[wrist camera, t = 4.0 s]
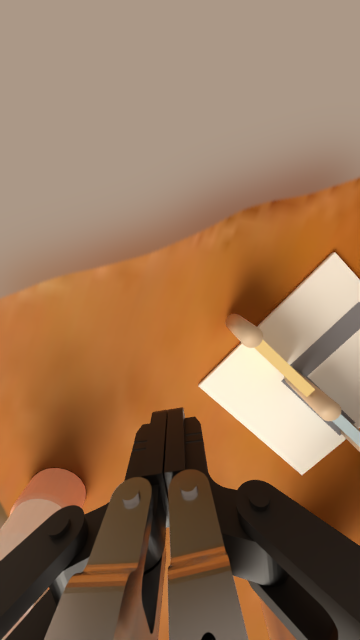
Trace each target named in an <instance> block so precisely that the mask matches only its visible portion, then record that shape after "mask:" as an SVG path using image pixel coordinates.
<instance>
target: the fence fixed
mask: <svg viewBox="0 0 360 640" xmlns="http://www.w3.org/2000/svg"><path fill="white" fill-rule="evenodd" d="M295 371H296V372H297V373H298V374H299V375H301V376H302V377H303V378H304V379H305V380H306V381H307V382H308V383H309V384H310V385H311V386H312V387H313V388H314V389H315V390H314V391H313V392H312V393H311V394H310V395H309V396H308V397H306V396H305V395H304V394H303V393H302V392H301V391H300V390H299V389H297V388H296V387H295V386H294V385H293V384H292V383H291V382H290V381H289V380H288V379H287V378H286V377H285V376H284V379H285V381H286V383H287V384H288V385H289V386H290V387H291V388H292V389H293V390H294V391H295V392H296V393H297V394H298V395H299V396H300V397H301V398H302V399H303V400H304V401H305V402H306V403H307V404H308V405H309V406H310V407H311V408H312V409H313V410H314V411H315V412H316V413H317V414H318V415H319V416H320V417H321V418H322V419H323V420H325V421H333V422H334V423H335V424H336V425H337V426H338V427H339V428H340V433H341V434H342V435H343V436H344V437H345V438H346V439H347V440H348V441H349V442H350V443H351V444H352V445H353V446H354V447H355V448H356V449H357V450H358V451H359V452H360V430H359V429H358V428H357V427H356V426H355V425H354V424H352V423H350V422H349V421H348V420H347V419H345V418H344V417H343V416H342V415H341V407H340V405H339V404H338V403H336V402H335V401H334V400H333V399H331V398H330V397H329V396H328V395H327V394H325V393H324V392H323V391H322V390H320V389H319V388H318V387H317V386H315V385H314V384H313V383H312V382H311V381H309V380H308V379H307V378H306V377H304V376H303V375H302V374H301V373H299V372H298V371H297V370H295Z"/></svg>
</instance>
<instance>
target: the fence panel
mask: <svg viewBox="0 0 360 640" xmlns="http://www.w3.org/2000/svg"><path fill="white" fill-rule="evenodd" d="M226 326H227V327H228V328H229V330H230V331H231V332H232V333H233V334H234V335H235V336H236V337H237V338H238V339H239V340H240V341H241V343H242V344H243V345H244V346H246V347H248V348H255V349H256V350H257V351H258V352H259V353H260V354H261V355H262V356H263V357H264V358H266V359H267V360H268V361H269V362H270V363H271V364H272V365H273V366H274V367H275V368H276V369H277V370H278V371H279V372H280V373H281V374H283V375H284V376H285V377H286V378H287V379H288V380H289V381H290V382H291V383H292V384H293V385H294V386H295V387H296V388H297V389H299V390H300V391H301V392H302V393H303V394H304V395H305V396H306V397H308V396H309V395H310V394H311V393H312V392H313V391H314V390H315V389H314V388H313V387H312V386H311V385H310V384H309V383H308V382H307V381H306V380H305V379H304V378H303V377H302V376H301V375H299V374H298V373H297V372H296V371H295V370H294V369H293V368H292V367H291V366H290V365H289V364H288V363H287V362H286V361H285V360H284V359H283V358H282V357H281V356H280V355H279V354H277V353H276V352H275V351H274V350H273V349H272V348H271V347H270V346H269V345H268V344H267V343H266V342H265V341H264V340H263V333H262V331H261V330H260V329H259V328H258V327H256V326H255V325H253V324H252V323H250V322H249V321H248V320H246V319H245V318H243V317H242V316H240V315H239V314H231V315H229V316H228V317H227V319H226Z"/></svg>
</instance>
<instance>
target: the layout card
mask: <svg viewBox="0 0 360 640" xmlns="http://www.w3.org/2000/svg"><path fill="white" fill-rule="evenodd" d="M257 327H258V328H259V329H260V330H261V331H262V333H263V340H264V341H265V342H266V343H267V344H268V345H269V346H270V347H271V348H272V349H273V350H274V351H275V352H276V353H277V354H279V355H280V356H281V357H282V358H283V359H284V360H285V361H286V362H287V363H288V364H289V365H290V366H291V367H292V368H293V369H294V370H297V371H298V372H299V373H301V374H302V375H303V376H304V377H306V378H307V379H308V380H309V381H311V382H312V383H313V384H314V385H315V386H317V387H318V388H319V389H320V390H322V391H323V392H324V393H325V394H327V395H328V396H329V397H330V398H331V399H333V400H334V401H335V402H336V403H338V404H339V405H340V407H341V415H342V416H343V417H344V418H345V419H347V420H348V421H349V422H350V423H352V424H354V425H355V426H356V427H357V428H358V429H359V428H360V280H359V278H358V277H357V276H356V275H355V274H354V273H353V272H352V271H351V269H350V268H349V267H348V266H347V265H346V264H345V263H344V262H343V261H342V259H341V258H340V257H339V256H338V255H337V254H336V253H335V252H333V253H331V254H330V255H329V256H328V257H327V258H326V259H325V260H324V261H323V262H322V263H321V264H320V265H319V266H318V267H317V268H316V269H315V270H314V271H313V272H312V273H311V274H310V275H309V276H308V277H307V278H306V279H305V280H304V281H303V282H302V283H301V284H300V285H299V286H298V287H297V288H296V289H295V290H294V291H293V292H292V293H291V294H290V295H289V296H288V297H287V298H286V299H285V300H284V301H283V302H282V303H281V304H280V305H279V306H278V307H277V308H276V309H275V310H274V311H272V312H271V313H270V314H269V315H268V316H267V317H266V318H265V319H264V320H263V321H262V322H261V323H260V324H259V325H258V326H257ZM198 386H199V387H200V388H201V389H202V390H204V391H205V392H206V393H207V394H208V395H209V396H211V397H212V398H213V399H214V400H215V401H216V402H218V403H219V404H220V405H221V406H222V407H223V408H225V409H226V410H227V411H228V412H229V413H230V414H232V415H233V416H234V417H235V418H236V419H237V420H239V421H240V422H241V423H242V424H243V425H244V426H246V427H247V428H248V429H249V430H250V431H251V432H252V433H254V434H255V435H256V436H257V437H258V438H259V439H261V440H262V441H263V442H264V443H265V444H266V445H268V446H269V447H270V448H271V449H272V450H273V451H275V452H276V453H277V454H278V455H279V456H280V457H282V458H283V459H284V460H285V461H286V462H287V463H289V464H290V465H291V466H292V467H293V468H294V469H296V470H297V471H298V472H299V473H300V474H301V475H303V474H304V473H305V472H307V471H308V470H309V469H310V468H312V467H313V466H314V465H315V464H316V463H318V462H319V461H320V460H321V459H322V458H324V457H325V456H326V455H327V454H329V453H330V452H331V451H332V450H333V449H335V448H336V447H337V446H338V445H340V444H341V443H342V442H343V441H344V440H346V438H345V437H344V436H343V435H342V434H341V433H340V428H339V427H338V426H337V425H336V424H335V423H334V422H333V421H325V420H323V419H322V418H321V417H320V416H319V415H318V414H317V413H316V412H315V411H314V410H313V409H312V408H311V407H310V406H309V405H308V404H307V403H306V402H305V401H304V400H303V399H302V398H301V397H300V396H299V395H298V394H297V393H296V392H295V391H294V390H293V389H292V388H291V387H290V386H289V385H288V384H287V383H286V381H285V379H284V375H283V374H281V373H280V372H279V371H278V370H277V369H276V368H275V367H274V366H273V365H272V364H271V363H270V362H269V361H268V360H267V359H266V358H264V357H263V356H262V355H261V354H260V353H259V352H258V351H257V350H256V349H255V348H248V347H246V346H244V345H243V344H242V343H240V344H239V345H238V346H237V347H236V348H235V349H234V350H233V351H232V352H231V353H230V354H229V355H228V356H227V357H226V358H225V359H224V360H223V361H222V362H221V363H220V364H219V365H218V366H217V367H216V368H215V369H214V370H213V371H211V372H210V373H209V374H208V375H207V376H206V377H205V378H204V379H203V380H202V381H201V382H200V383H199V384H198Z"/></svg>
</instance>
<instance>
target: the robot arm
mask: <svg viewBox="0 0 360 640" xmlns="http://www.w3.org/2000/svg"><path fill="white" fill-rule="evenodd" d="M167 527H170V553H171V564H170V566H169V567H168V612H169V640H248V636H247V632H246V628H245V624H244V620H243V616H242V611H241V607H240V603H239V599H238V595H237V591H236V587H235V582H234V578H233V575H234V576H237V577H240V578H243V579H246V580H248V582H249V584H250V585H251V587H252V588H253V590H254V591H255V592H256V593H257V594H258V596H259V597H260V601H261V606H262V610H263V614H264V618H265V622H266V626H267V630H268V634H269V638H270V640H360V546H359V545H358V544H356V543H355V542H353V541H352V540H350V539H349V538H347V537H346V536H345V535H343V534H342V533H340V532H339V531H337V530H336V529H334V528H333V527H331V526H330V525H329V524H327V523H326V522H324V521H323V520H321V519H320V518H318V517H317V516H315V515H314V514H313V513H311V512H310V511H308V510H307V509H305V508H304V507H302V506H301V505H299V504H298V503H297V502H295V501H294V500H292V499H291V498H289V497H288V496H286V495H285V494H283V493H282V492H281V491H279V490H278V489H276V488H275V487H273V486H272V485H270V484H269V483H266V482H264V481H260V480H250V481H247V482H245V483H243V484H242V485H241V486H240V487H239V488H238V490H234V489H228V488H225V487H222V486H220V485H218V484H217V483H215V482H214V481H213V480H212V479H211V477H210V475H209V473H208V468H207V461H206V455H205V448H204V442H203V436H202V430H201V424H200V422H199V421H198V420H197V419H196V417H190V418H185V414H184V409H183V407H182V408H176V409H169V410H163V411H156V412H153V413H152V417H151V423H150V424H144V425H142V426H141V428H140V429H139V430H138V432H137V433H136V437H135V441H134V445H133V449H132V453H131V457H130V461H129V465H128V469H127V473H126V477H125V481H124V482H123V483H121V484H120V485H119V486H118V487H117V488H116V490H115V491H114V493H113V494H112V497H111V499H110V502H109V503H107V504H106V505H104V506H102V507H100V508H98V509H96V510H94V511H91V512H89V513H87V514H85V515H84V512H83V510H82V508H81V507H79V506H76V505H70V506H66V507H64V508H61V509H60V510H58V511H56V512H55V513H54V514H52V515H51V516H50V517H49V518H48V519H47V520H45V521H44V522H43V523H42V524H41V525H40V526H39V527H38V528H37V529H35V530H34V531H33V532H32V533H31V534H30V535H29V536H28V537H26V538H25V539H24V540H23V541H22V542H21V543H20V544H19V545H17V546H16V547H15V548H14V549H13V550H12V551H11V552H10V553H9V554H7V555H6V556H5V557H4V558H3V559H2V560H1V561H0V640H2V638H3V637H4V636H5V635H6V634H7V633H8V632H9V631H10V630H11V628H12V627H13V626H14V625H15V624H16V623H17V622H18V621H19V619H20V618H21V617H22V616H23V615H24V614H25V613H26V612H27V611H28V609H29V608H30V607H31V606H32V605H33V604H34V603H35V602H36V600H37V599H38V598H39V597H40V596H41V595H42V594H43V592H44V591H45V590H46V589H47V588H48V587H49V588H50V589H49V590H48V592H47V593H46V594H45V595H44V596H43V597H42V598H41V599H40V601H39V602H38V603H37V604H36V605H35V606H34V607H33V609H31V611H30V612H29V613H28V614H27V615H26V616H25V617H24V619H23V620H22V621H21V622H20V623H19V624H18V625H17V626H16V628H15V629H14V630H13V631H12V632H11V633H10V634H9V635H8V637H7V638H6V639H5V640H158V633H159V623H160V613H161V603H162V592H163V582H164V572H165V562H166V548H165V536H166V528H167Z"/></svg>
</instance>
